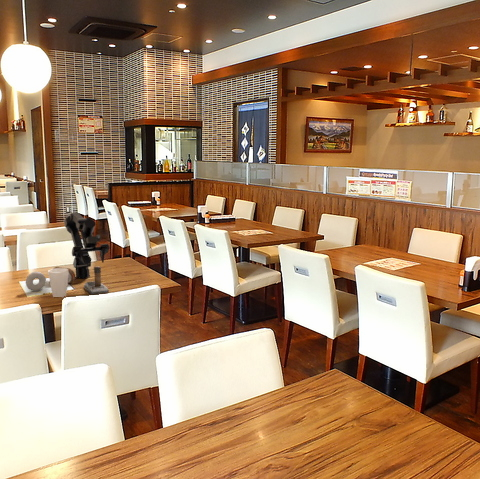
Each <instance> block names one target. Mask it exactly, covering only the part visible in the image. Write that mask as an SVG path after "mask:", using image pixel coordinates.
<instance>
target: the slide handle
mask: <svg viewBox="0 0 480 479" xmlns="http://www.w3.org/2000/svg"><path fill="white" fill-rule="evenodd" d="M101 268H102V267H101V266H99V265H96V266H94V267H93V271H94V272H93V273H94V281H95V285H92V289H93V290H94V288H102V287H104V286H103V285H104V284H103V283H102V277H101V275H102V273H101V272H102V270H101ZM101 283H102V284H103V285H102V284H101Z"/></svg>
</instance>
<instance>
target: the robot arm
mask: <svg viewBox="0 0 480 479" xmlns="http://www.w3.org/2000/svg"><path fill="white" fill-rule="evenodd" d="M95 227H96V221H94V220H93V219H91V217H86V218H84V217H83V216H82V215H81V214H80V213H79V212H71V213H70V214H69V215H68V216H67V217H66V218H65V219H64V228H65V229H66V231H67V232H68V233H69V234H70V235H71V239H72V243H73V247H72V249H71V256H72V257H73V258H74V259H73V262H72V265H73V268H75V279H83V280H84V279H88V278H90V277H91V275H90V274H91V273H90V267H92V258H91V255H90V254H89V252H90V253H91V252H99V253H100V254H99V255H100V256H99V257H100V259H101V263H104V260H105V255H106V254H108V253H109V251H110V244H109V243H100V246H98V242H100V241H101V235H100V234H97V235H93V233H94V231H95Z"/></svg>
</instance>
